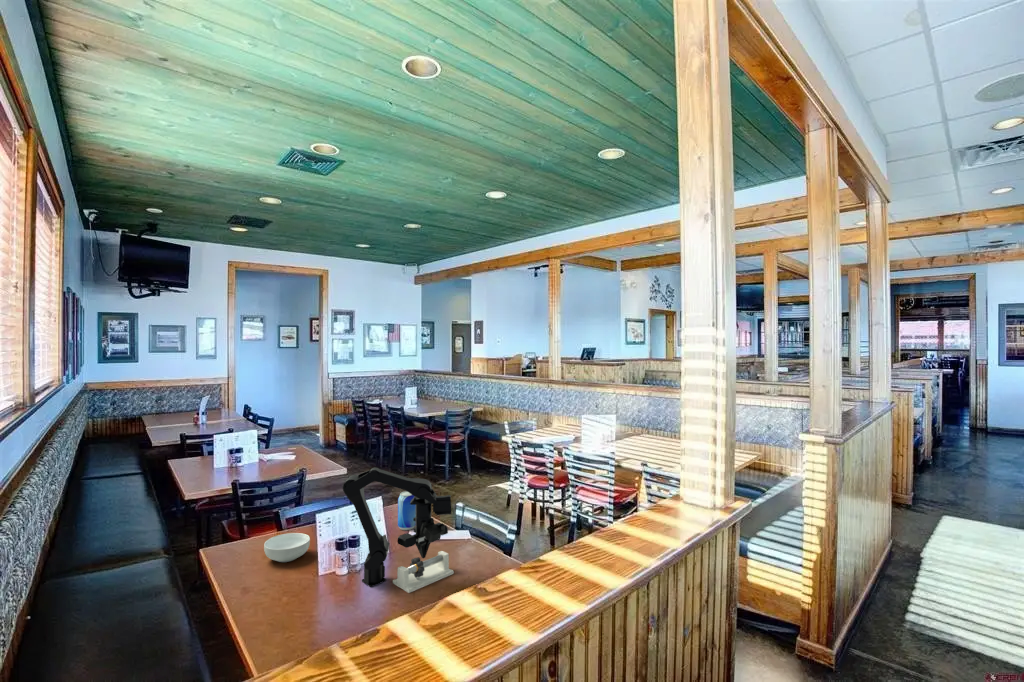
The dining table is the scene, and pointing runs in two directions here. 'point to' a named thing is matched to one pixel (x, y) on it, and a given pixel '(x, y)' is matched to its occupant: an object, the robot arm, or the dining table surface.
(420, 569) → the black lobed collar
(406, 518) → the beer can
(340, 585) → the dining table surface
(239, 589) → the dining table surface
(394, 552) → the dining table surface
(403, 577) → the base board
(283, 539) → the cereal bowl
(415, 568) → the pipe
